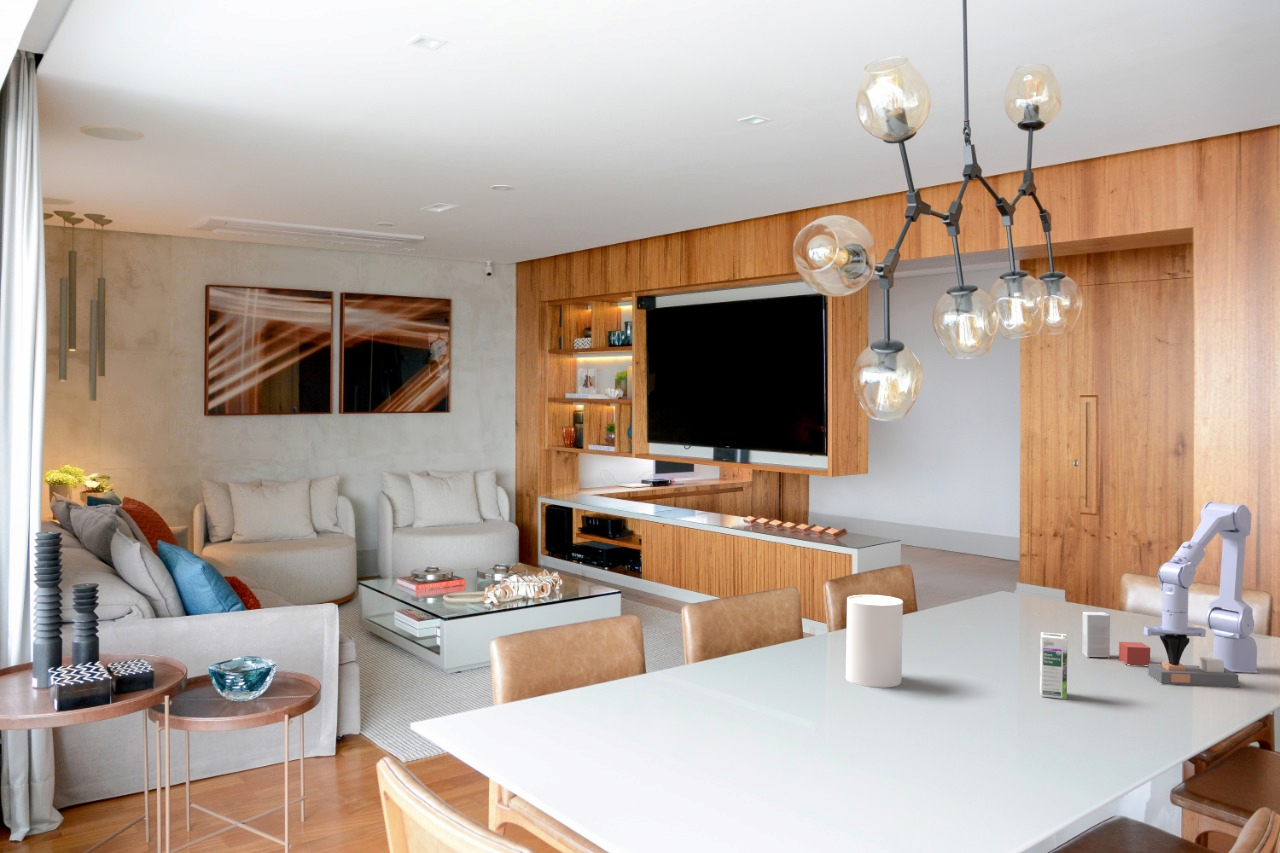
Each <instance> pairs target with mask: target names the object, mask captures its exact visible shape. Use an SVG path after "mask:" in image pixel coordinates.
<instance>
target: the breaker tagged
mask: <svg viewBox="0 0 1280 853" xmlns="http://www.w3.org/2000/svg"><path fill="white" fill-rule="evenodd" d="M1161 664H1162V667H1163V668H1165V669H1166V670H1168V671H1186V667H1185V666H1184V665H1185V664H1182V663H1181V662H1179V665H1172V664H1170V663H1169V661H1162V662H1161Z"/></svg>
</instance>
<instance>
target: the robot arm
mask: <svg viewBox="0 0 1280 853" xmlns="http://www.w3.org/2000/svg"><path fill="white" fill-rule="evenodd" d="M1251 525H1252V513H1251V511H1250V509H1249V508H1248V506H1246V505H1245V504H1231V503H1221V502H1213V501H1207V502H1206V503H1204V505H1203V506H1202V508H1201V510H1200V523H1199V524H1198V526H1197V527H1196V529H1195V532H1194V534H1193V535H1192V537H1191V539H1190V540H1189V541H1184V542H1183V543H1182V544H1181V545H1180V547H1179V548H1178V549H1177V550H1176V552H1175V553H1174V555H1173V556H1172V557H1171V559H1170V560H1169V561H1167V562H1165V563H1162V564H1161V565H1160V567H1159V569H1158V572H1157V579H1158V581H1159V582H1158V583H1159V586H1160V588H1159V590H1160V591H1161V592H1162V602H1161V605H1162V606H1161V607H1162V608H1161V609H1162V610H1161V625H1157V626H1156V625H1155V626H1154V625H1153V626H1143V635H1144V636H1146V637H1152V636H1157V637H1158V636H1159V639H1160V640H1161V642H1162V645H1163V646H1164V649H1165V652H1166V655H1167V659H1168V662H1169V663H1170V664H1172V665H1179V663H1181V662H1180V661H1181V658H1182V656H1183V653H1184V651H1185V649H1186V647H1187V646H1188V645H1189V644H1190V638H1189V637H1201V638H1206V634H1207V633H1206V632H1207V630H1206V628H1204V627H1203V628H1202V627H1194V626H1193V627H1192V626H1189V593H1190V591H1189V590H1190V589H1189V588H1190V587H1192V586H1193V584H1194V581H1195V576H1196V573H1197V568H1198V566H1199V565H1200V563H1201V562H1202V561H1203V559H1204V558H1205V556H1206V551H1205V548H1206V547H1207V546H1208V545H1209V543H1210V542H1211V541H1212V540H1213V539H1214V537H1216V536H1217V534H1219V535H1220V537H1221V538H1222V548H1221V549H1222V550H1221V551H1222V554H1221V565H1220V578H1219V580H1220V581H1219V594H1218V597H1217V598H1215V599H1214V600H1212V601H1210V602H1209V606H1208V610H1207V613H1206V614H1205V615H1206V616H1205V624H1206V626H1207V628H1208V629H1209V630H1210V634H1213V645H1212V646H1213V648H1212V649H1213V651H1212V652H1213V653H1212V657H1217V658H1219V659H1221V660H1223V661H1224V667H1225V668H1226V669H1228V670H1230V671H1232V672H1234V673H1249V674H1252V673H1253V674H1258V673H1259V671H1258V670H1257V667H1258V666H1257V664H1258V663H1257V662H1258V645H1257V641H1256V640H1255V638H1254V637H1253V636H1251V634H1252V633H1253V631H1254V629H1255V620H1254V614H1253V608H1252V607H1251V605H1249V604H1248V603H1247V602H1245V601H1244V599H1243V588H1244V587H1243V586H1244V575H1245V574H1244V571H1245V556H1246V544H1247V537H1248V536H1249V537H1250V534H1251V527H1252V526H1251Z"/></svg>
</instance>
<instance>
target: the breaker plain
mask: <svg viewBox="0 0 1280 853" xmlns="http://www.w3.org/2000/svg"><path fill="white" fill-rule="evenodd" d="M1199 666H1200V669H1202V670H1203V671H1205V672H1216V673H1224V661H1223V660H1221V659H1219V658H1217V657H1213V656H1199Z"/></svg>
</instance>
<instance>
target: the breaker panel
mask: <svg viewBox="0 0 1280 853" xmlns="http://www.w3.org/2000/svg"><path fill="white" fill-rule="evenodd" d="M1183 665H1184V666H1185V667H1186V671H1168V670H1166V669H1165V668H1163V667H1162V663H1150V664H1149V666H1147V667H1148V671H1147V672H1148V674H1147V675H1148V676H1149V675H1150V676H1151V677H1150V676H1149V677H1150V678H1152V677H1153V678H1154V679H1153V678H1152V679H1153V680H1155V679H1156V680H1157V681H1156V680H1155V681H1156V682H1158V681H1159V682H1160V683H1162V684H1161V685H1173V684H1179V685H1178V686H1198V687H1199V686H1201V687H1225V688H1239V674H1237V672H1232V671H1230V670H1228V669H1226V668H1225V667H1224V673H1216V672H1205V671H1203V670H1202V669H1200V665H1196V664H1195V665H1193V664H1192V665H1189V664H1183ZM1159 682H1158V683H1159ZM1160 683H1159V684H1160Z"/></svg>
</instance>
